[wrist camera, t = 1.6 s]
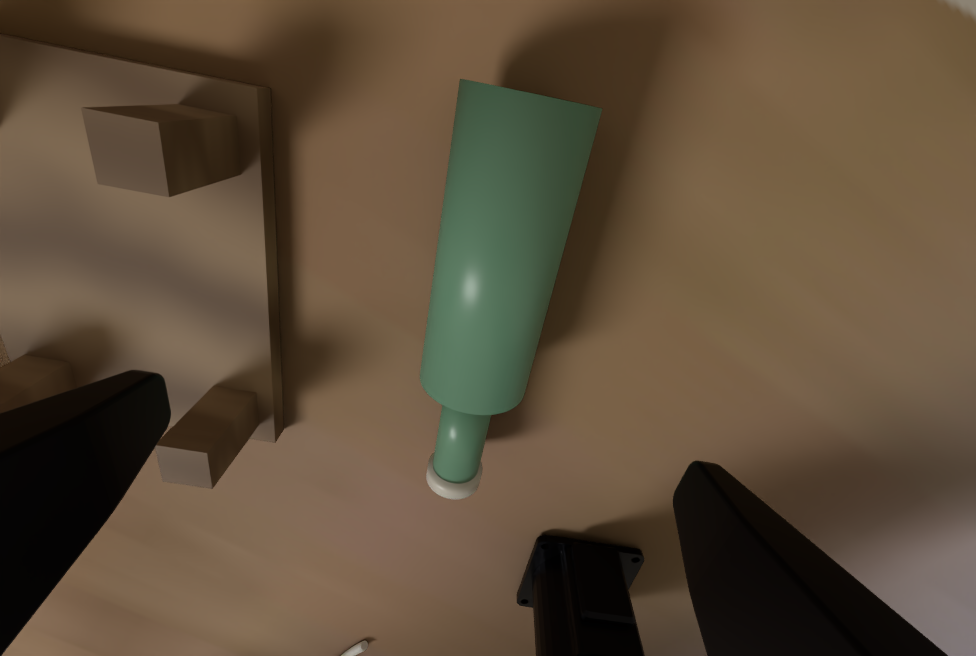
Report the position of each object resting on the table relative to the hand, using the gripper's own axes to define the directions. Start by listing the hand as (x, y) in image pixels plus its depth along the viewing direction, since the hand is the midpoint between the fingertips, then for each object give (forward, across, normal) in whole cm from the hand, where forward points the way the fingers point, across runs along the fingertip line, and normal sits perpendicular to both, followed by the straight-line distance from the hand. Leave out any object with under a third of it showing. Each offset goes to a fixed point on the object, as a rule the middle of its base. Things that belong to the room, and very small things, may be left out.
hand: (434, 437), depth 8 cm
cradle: (+12, +14, +4) cm, 19 cm away
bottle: (+12, 0, +3) cm, 12 cm away
